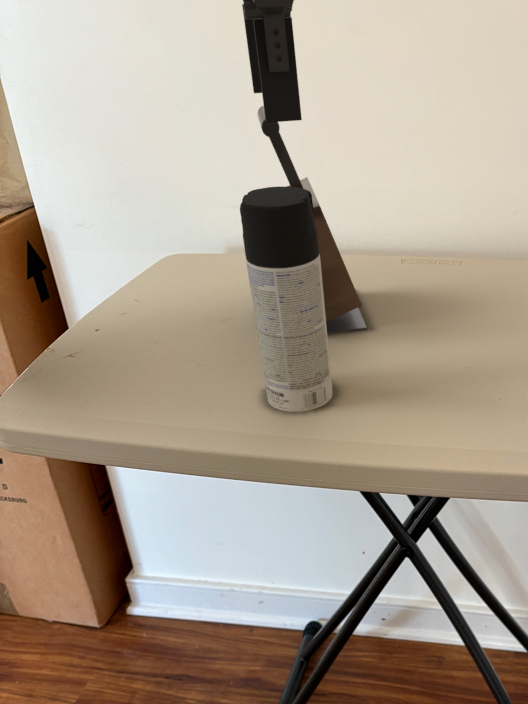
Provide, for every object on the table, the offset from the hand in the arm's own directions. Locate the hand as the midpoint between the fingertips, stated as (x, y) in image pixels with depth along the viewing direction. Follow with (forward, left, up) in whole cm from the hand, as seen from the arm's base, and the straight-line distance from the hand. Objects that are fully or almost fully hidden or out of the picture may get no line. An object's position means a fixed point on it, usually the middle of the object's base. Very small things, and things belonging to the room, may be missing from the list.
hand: (275, 105), depth 63 cm
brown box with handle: (-12, +13, -24) cm, 30 cm away
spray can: (+2, -2, -26) cm, 27 cm away
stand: (-12, +14, -26) cm, 32 cm away
